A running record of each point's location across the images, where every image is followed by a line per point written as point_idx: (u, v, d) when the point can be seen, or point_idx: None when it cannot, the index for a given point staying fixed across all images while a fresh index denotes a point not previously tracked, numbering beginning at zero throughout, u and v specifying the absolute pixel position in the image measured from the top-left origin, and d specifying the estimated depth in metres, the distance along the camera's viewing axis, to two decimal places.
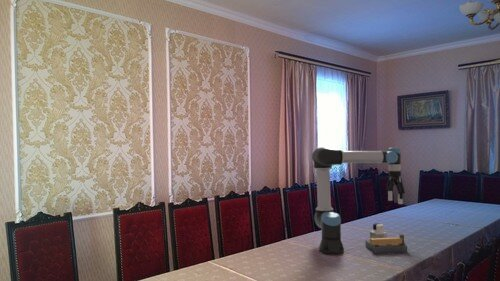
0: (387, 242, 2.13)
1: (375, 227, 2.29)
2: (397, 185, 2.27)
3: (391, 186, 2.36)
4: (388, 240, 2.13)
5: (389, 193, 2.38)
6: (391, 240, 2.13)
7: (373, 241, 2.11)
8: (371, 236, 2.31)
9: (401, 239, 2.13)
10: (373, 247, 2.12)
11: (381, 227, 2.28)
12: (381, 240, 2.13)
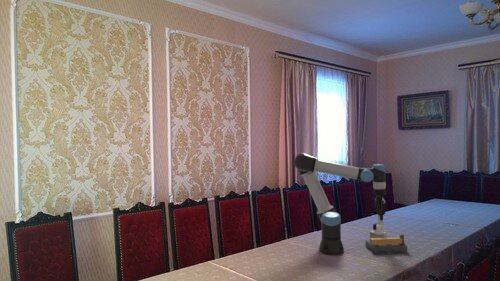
0: (387, 242, 2.13)
1: (375, 227, 2.29)
2: (380, 205, 2.20)
3: None
4: (388, 240, 2.13)
5: None
6: (391, 240, 2.13)
7: (373, 241, 2.11)
8: (371, 236, 2.31)
9: (401, 239, 2.13)
10: (373, 247, 2.12)
11: (381, 227, 2.28)
12: (381, 240, 2.13)
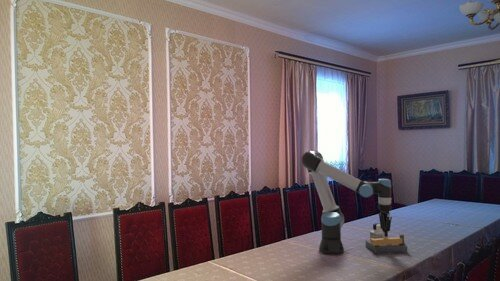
0: (388, 242, 2.12)
1: (375, 227, 2.29)
2: (385, 222, 2.13)
3: None
4: (388, 240, 2.12)
5: None
6: (392, 240, 2.13)
7: (374, 241, 2.10)
8: (371, 236, 2.31)
9: (401, 239, 2.13)
10: (373, 247, 2.12)
11: None
12: (382, 240, 2.12)
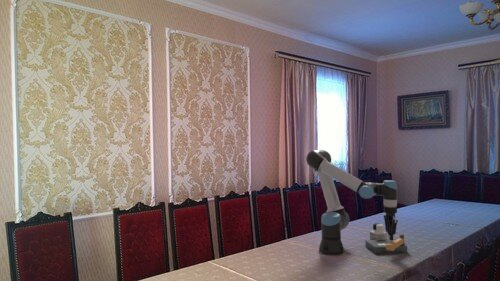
0: (397, 245, 2.07)
1: (375, 227, 2.29)
2: (390, 224, 2.07)
3: None
4: (398, 243, 2.07)
5: None
6: (399, 242, 2.09)
7: (393, 247, 1.99)
8: (371, 236, 2.31)
9: (403, 239, 2.13)
10: (373, 247, 2.12)
11: (381, 227, 2.28)
12: (395, 244, 2.04)
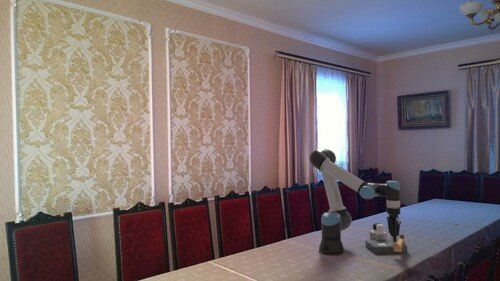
0: (401, 245, 2.06)
1: (375, 227, 2.29)
2: (394, 226, 2.02)
3: None
4: (402, 243, 2.06)
5: None
6: (402, 242, 2.08)
7: (401, 248, 1.97)
8: (371, 236, 2.31)
9: (403, 239, 2.13)
10: (373, 247, 2.12)
11: (381, 227, 2.28)
12: (401, 245, 2.02)
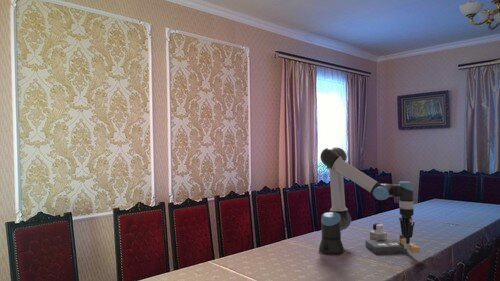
0: None
1: (375, 227, 2.29)
2: (407, 227, 1.99)
3: None
4: None
5: None
6: None
7: None
8: (371, 236, 2.31)
9: None
10: (373, 247, 2.12)
11: (381, 227, 2.28)
12: None
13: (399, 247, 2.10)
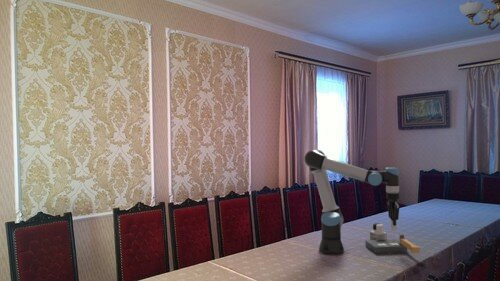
0: None
1: (375, 227, 2.29)
2: (393, 210, 2.12)
3: None
4: None
5: None
6: None
7: None
8: (371, 236, 2.31)
9: None
10: (373, 247, 2.12)
11: (381, 227, 2.28)
12: None
13: (399, 247, 2.10)
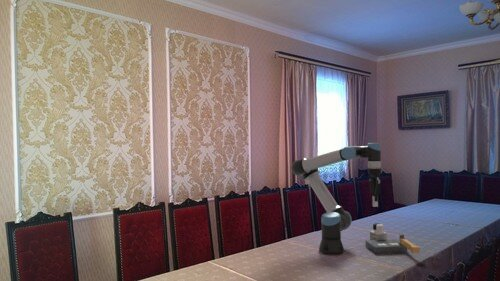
0: None
1: (375, 227, 2.29)
2: (375, 186, 2.09)
3: None
4: None
5: None
6: None
7: None
8: (371, 236, 2.31)
9: None
10: (373, 247, 2.12)
11: (381, 227, 2.28)
12: None
13: (399, 247, 2.10)
